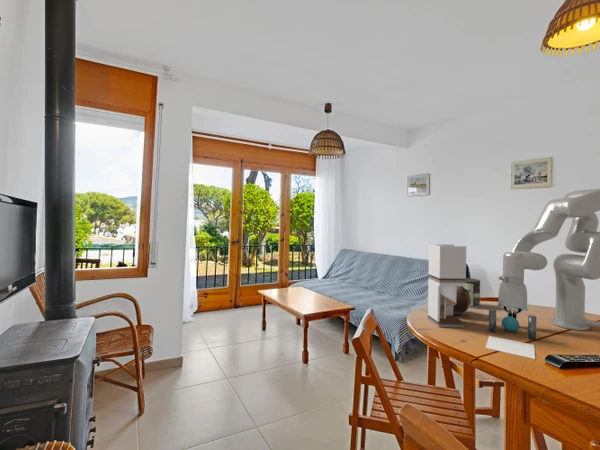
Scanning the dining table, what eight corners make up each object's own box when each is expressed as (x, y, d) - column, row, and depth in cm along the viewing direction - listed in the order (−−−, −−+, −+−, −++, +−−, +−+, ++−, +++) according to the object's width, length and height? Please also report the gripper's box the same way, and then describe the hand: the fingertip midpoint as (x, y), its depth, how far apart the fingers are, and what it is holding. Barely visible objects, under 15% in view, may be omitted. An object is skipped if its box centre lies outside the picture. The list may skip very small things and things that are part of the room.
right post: (536, 339, 115) (536, 316, 115) (536, 341, 113) (536, 317, 113) (527, 337, 117) (528, 314, 116) (528, 339, 115) (528, 316, 114)
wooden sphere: (429, 311, 150) (430, 281, 150) (450, 308, 156) (451, 279, 156) (455, 320, 136) (456, 288, 136) (477, 316, 142) (478, 285, 142)
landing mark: (534, 345, 109) (534, 344, 109) (535, 359, 98) (535, 358, 98) (489, 336, 117) (489, 335, 117) (485, 348, 106) (485, 347, 106)
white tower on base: (438, 327, 127) (440, 246, 127) (427, 319, 138) (428, 244, 137) (465, 327, 127) (466, 246, 127) (452, 319, 138) (453, 244, 137)
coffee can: (475, 303, 165) (476, 278, 165) (483, 308, 155) (483, 282, 155) (455, 302, 167) (456, 277, 167) (461, 307, 157) (462, 281, 157)
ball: (517, 322, 119) (517, 335, 120) (520, 315, 123) (520, 329, 124) (500, 318, 123) (500, 331, 124) (503, 312, 127) (503, 325, 128)
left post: (496, 331, 123) (496, 309, 123) (495, 333, 121) (496, 311, 121) (489, 329, 124) (489, 308, 124) (488, 331, 122) (488, 310, 122)
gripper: (491, 279, 131) (490, 320, 131) (535, 284, 121) (533, 328, 122) (493, 277, 137) (492, 316, 137) (534, 281, 127) (533, 323, 128)
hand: (512, 322), depth 129 cm, fingers closed
